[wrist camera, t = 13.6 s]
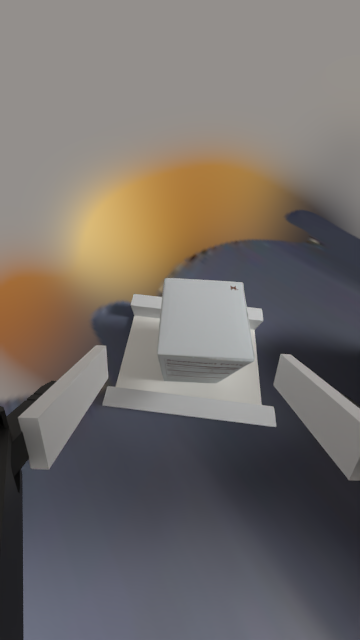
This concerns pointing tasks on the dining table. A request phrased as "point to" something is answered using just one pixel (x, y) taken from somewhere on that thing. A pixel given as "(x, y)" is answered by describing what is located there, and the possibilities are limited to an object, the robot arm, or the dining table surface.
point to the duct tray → (183, 397)
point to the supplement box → (203, 330)
